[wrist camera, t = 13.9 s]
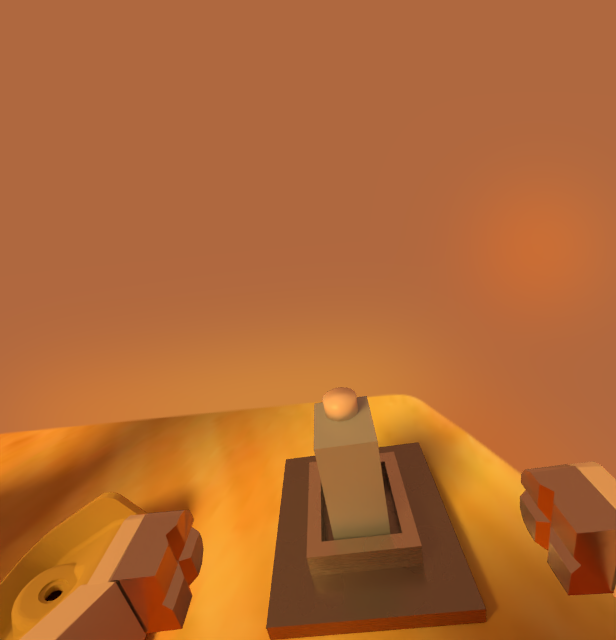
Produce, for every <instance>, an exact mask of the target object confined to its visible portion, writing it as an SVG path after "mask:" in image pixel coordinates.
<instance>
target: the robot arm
mask: <svg viewBox="0 0 616 640" xmlns="http://www.w3.org/2000/svg"><path fill="white" fill-rule="evenodd" d="M521 483H522V485H523V486H524V488H525V489H526V491H525V492H524V493H523V494H522V495H521V496H520V510H521V513H522V517H523V521H524V523H525V525H526V527H527V529H528V531H529V533H530V535H531V536H532V538H533V540H534V541H535V542H536V543H537V544H539V545H540V546H542V547H543V548H545V549H546V550H548V561H547V562H548V564H549V565H550V567H551V569H552V570H553V572H554V573H555V575H556V577H557V578H558V580H559V581H560V583H561V585H562V586H563V588H564V589H565V591H566V592H567V594H568V595H585V594H603V593H614V594H613V596H615V597H616V479H615V478H613V476H612V475H610V473H608V472H607V471H606V470H605V469H604V468H603V467H602V466H601V465H600V464H598V463H596V462H594V461H592V462H584V463H576V464H570V465H566V464H565V465H558V466H550V467H542V468H535V469H527V470H524V471H523V472H522V474H521ZM193 521H194V518H193V516H192V514H191V512H190V510H181V511H169V512H158V513H149V514H138V515H130V516H129V517H128V518H127V519H125V520H124V522H123V523H122V525H121V527H120V528H119V530H118V532H117V533H116V535H115V537H114V539H113V540H112V542H111V544H110V545H109V547H108V549H107V551H106V552H105V554H104V556H103V558H102V559H101V561H100V563H99V564H98V566H97V568H96V570H95V571H94V573H93V575H92V576H91V578H90V580H89V582H88V583H87V584H84V585H80V586H79V587H78V588H77V589H76V590H75V591H74V592H72V593H71V594H70V595H69V596H68V597H67V598H66V599H65V600H63V601H62V602H61V603H60V604H59V605H58V606H57V607H56V608H54V609H53V610H52V611H51V612H50V613H49V614H48V615H47V616H45V617H44V618H43V619H42V620H41V621H40V622H39V623H38V624H36V625H35V626H34V627H33V628H32V629H31V630H30V631H29V632H27V633H26V634H25V635H24V636H23V637H22V638H21V639H20V640H144V638H145V637H146V634H145V633H152V632H160V631H169V630H177V629H182V628H183V624H184V621H185V618H186V615H187V611H188V608H189V605H190V602H191V598H192V593H191V590H190V587H189V586H190V584H191V583H192V582H193V581H194V580H195V579H196V578H197V576H198V575H199V572H200V568H201V565H202V558H203V543H202V538H201V535H200V533H199V532H198V531H197V530H195V529H194V528H192V524H193Z"/></svg>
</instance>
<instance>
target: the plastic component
mask: <svg viewBox="0 0 616 640" xmlns="http://www.w3.org/2000/svg"><path fill="white" fill-rule="evenodd" d="M138 514H148V513H146V512H145V511H143V510H142V509H141V508H139V507H138V506H136V505H135V504H133V503H132V502H130V501H129V500H128V499H126V498H125V497H123V496H122V495H120V494H118V493H114V492H107V493H103V494H101V495H100V496H98V497H97V498H96V499H94V500H93V501H91V502H90V503H88V504H87V505H86V506H84V507H83V508H81V509H80V510H78V511H77V512H76V513H74V514H73V515H71V516H70V517H68V518H67V519H66V520H64V521H63V522H61V523H60V524H58V525H57V526H56V527H54V528H53V529H52V530H50V531H49V532H48V533H47V534H46V535H45V536H43V537H42V538H41V539H40V540H39V541H38V542H37V543H36V544H35V545H34V546H33V547H32V548H31V549H30V550H29V551H28V552H27V553H26V554H25V555H24V556H23V557H22V558H21V559H20V560H19V561H18V562H17V564H16V565H15V566H14V567H13V568H12V569H11V571H10V572H9V573H8V574H7V575H6V577H5V578H4V579H3V580H2V581H1V582H0V640H20V639H21V638H22V637H23V636H24V635H25V634H26V633H27V632H29V631H30V630H31V629H32V628H33V627H34V626H35V625H36V624H38V623H39V622H40V621H41V620H42V619H43V618H44V617H45V616H47V615H48V614H49V613H50V612H51V611H52V610H53V609H54V608H56V607H57V606H58V605H59V604H60V603H61V602H62V601H63V600H65V599H66V598H67V597H68V596H69V595H70V594H71V593H72V592H74V591H75V590H76V589H77V588H78V587H79V586H80V585H84V584H87V583H88V582H89V580H90V578H91V576H92V575H93V573H94V571H95V570H96V568H97V566H98V564H99V563H100V561H101V559H102V558H103V556H104V554H105V552H106V551H107V549H108V547H109V545H110V544H111V542H112V540H113V539H114V537H115V535H116V533H117V532H118V530H119V528H120V527H121V525H122V523H123V522H124V520H125V519H127V518H128V517H129V516H130V515H138ZM58 590H60V591H63V592H62V594H61V595H60V596H59V597H58V598H57V599H55V600H53V601H46V599H47V598H48V597H49V596H50V594H51V593H52V592H54V591H58ZM145 634H146V633H145ZM144 639H145V638H144Z"/></svg>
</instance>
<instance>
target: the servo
mask: <svg viewBox="0 0 616 640" xmlns="http://www.w3.org/2000/svg"><path fill="white" fill-rule="evenodd" d="M314 452H315V457H316V461H317V466H318V470H319V475H320V479H321V484H322V488H323V493H324V497H325V502H326V506H327V511H328V515H329V520H330V524H331V529H332V533H333V538H334V540H342V539H352V538H361V537H370V536H380V535H389V534H391V533H390V526H389V519H388V512H387V505H386V498H385V491H384V484H383V477H382V470H381V462H380V455H379V448H378V441H377V437H376V433H375V429H374V425H373V420H372V416H371V412H370V408H369V404H368V400H367V396H364V397H357V398H356V394H355V392H354V391H353V390H352V389H349V388H342V387H341V388H335V389H332V390H330V391H328V392H326V393H325V394H324V396H323V402H322V403H315V409H314Z"/></svg>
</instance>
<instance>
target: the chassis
mask: <svg viewBox="0 0 616 640" xmlns="http://www.w3.org/2000/svg"><path fill="white" fill-rule="evenodd" d="M379 455H380V462H381V470H382V477H383V484H384V491H385V498H386V505H387V512H388V519H389V526H390V533H391V534H389V535H380V536H370V537H361V538H352V539H342V540H334V538H333V533H332V529H331V524H330V520H329V515H328V511H327V506H326V502H325V497H324V493H323V488H322V484H321V479H320V475H319V470H318V466H317V461H316V457H315V456H310V457H302V458H294V459H286V464H285V472H284V481H283V489H282V498H281V506H280V515H279V524H278V532H277V541H276V549H275V558H274V566H273V575H272V583H271V592H270V601H269V609H268V618H267V626H266V629H267V631H268V634H269V637H270V640H276V639H288V638H300V637H312V636H324V635H336V634H348V633H360V632H373V631H385V630H397V629H409V628H421V627H433V626H445V625H457V624H469V623H481V622H486V608H485V606H484V603H483V601H482V598H481V596H480V593H479V591H478V588H477V586H476V583H475V581H474V578H473V576H472V573H471V571H470V569H469V566H468V564H467V561H466V559H465V556H464V554H463V551H462V549H461V546H460V544H459V541H458V539H457V536H456V534H455V532H454V529H453V527H452V524H451V522H450V519H449V517H448V514H447V512H446V509H445V507H444V504H443V502H442V499H441V497H440V494H439V492H438V490H437V487H436V485H435V482H434V480H433V477H432V475H431V472H430V470H429V467H428V465H427V462H426V460H425V457H424V455H423V452H422V450H421V448H420V445H419V443H410V444H402V445H395V446H387V447H379Z"/></svg>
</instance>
